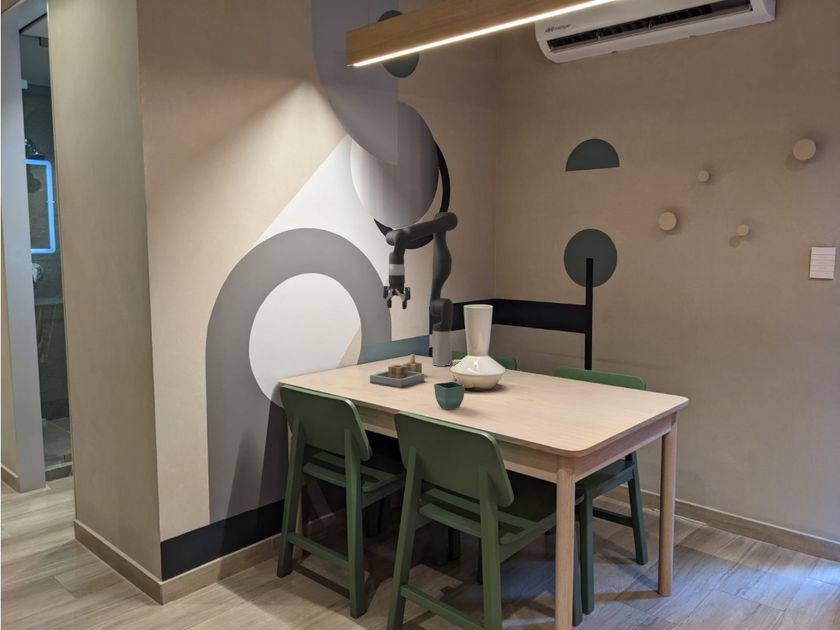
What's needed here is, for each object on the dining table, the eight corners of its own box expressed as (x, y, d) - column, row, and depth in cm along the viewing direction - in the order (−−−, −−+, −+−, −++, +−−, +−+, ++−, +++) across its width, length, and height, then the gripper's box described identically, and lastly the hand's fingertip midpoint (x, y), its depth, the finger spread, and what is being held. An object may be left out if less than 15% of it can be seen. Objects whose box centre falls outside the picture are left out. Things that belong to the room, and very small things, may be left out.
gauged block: (411, 374, 316) (411, 353, 315) (421, 375, 313) (421, 354, 312) (403, 376, 311) (403, 354, 310) (414, 378, 308) (413, 356, 307)
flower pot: (465, 409, 254) (465, 385, 253) (445, 412, 250) (445, 388, 248) (453, 404, 261) (453, 381, 260) (433, 407, 257) (433, 383, 256)
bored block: (396, 377, 304) (396, 364, 303) (407, 379, 301) (407, 366, 300) (388, 380, 299) (388, 366, 298) (399, 381, 296) (399, 368, 295)
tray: (394, 376, 311) (393, 369, 311) (424, 381, 302) (424, 373, 301) (370, 383, 298) (370, 375, 297) (401, 388, 288) (401, 380, 288)
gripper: (413, 274, 316) (413, 308, 318) (389, 273, 324) (389, 306, 326) (404, 274, 310) (404, 310, 312) (379, 273, 318) (379, 308, 320)
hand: (396, 308), depth 319 cm, fingers open, 8 cm apart
